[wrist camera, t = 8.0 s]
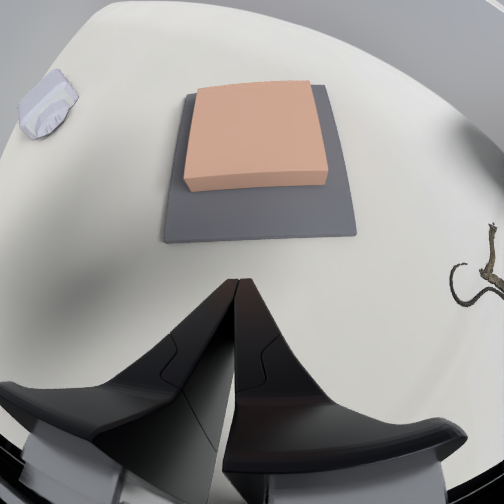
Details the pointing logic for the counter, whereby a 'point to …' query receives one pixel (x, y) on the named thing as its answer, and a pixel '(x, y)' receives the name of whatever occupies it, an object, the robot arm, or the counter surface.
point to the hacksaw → (483, 274)
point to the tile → (255, 137)
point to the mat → (262, 197)
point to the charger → (46, 105)
